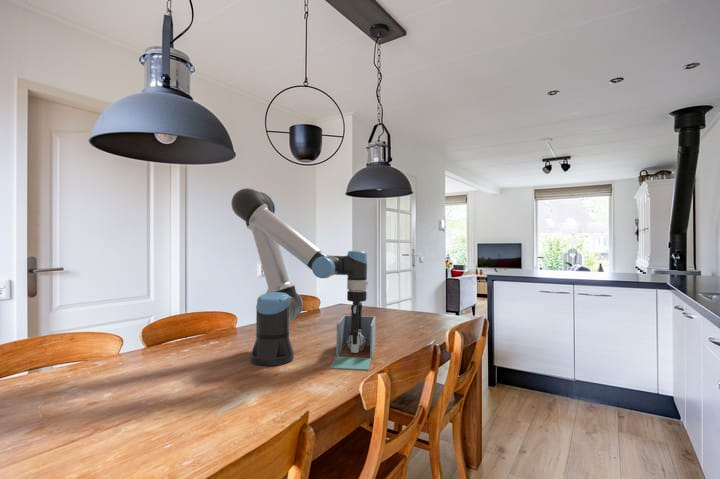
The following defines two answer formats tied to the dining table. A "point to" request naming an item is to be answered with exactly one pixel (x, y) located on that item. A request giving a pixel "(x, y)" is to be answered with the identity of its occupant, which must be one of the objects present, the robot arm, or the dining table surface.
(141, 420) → the dining table surface
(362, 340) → the game die
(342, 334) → the slot box
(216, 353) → the dining table surface
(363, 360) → the mat
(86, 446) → the dining table surface
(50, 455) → the dining table surface
